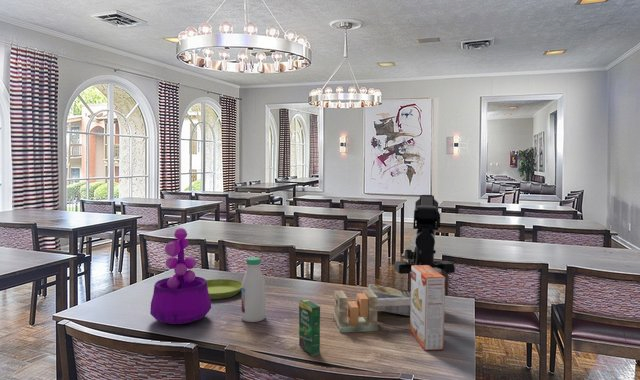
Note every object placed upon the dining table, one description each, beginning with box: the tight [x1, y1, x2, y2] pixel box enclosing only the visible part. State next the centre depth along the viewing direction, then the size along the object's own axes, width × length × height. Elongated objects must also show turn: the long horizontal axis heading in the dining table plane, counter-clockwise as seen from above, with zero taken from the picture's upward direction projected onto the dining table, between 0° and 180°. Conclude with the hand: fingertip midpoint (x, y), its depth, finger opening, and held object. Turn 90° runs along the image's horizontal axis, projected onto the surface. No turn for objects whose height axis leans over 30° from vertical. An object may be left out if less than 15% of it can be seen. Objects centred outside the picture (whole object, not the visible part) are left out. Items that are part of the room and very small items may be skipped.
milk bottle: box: [241, 256, 266, 323], centre depth 147 cm, size 8×8×20 cm
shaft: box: [377, 297, 411, 306], centre depth 145 cm, size 20×3×10 cm, turn 99°
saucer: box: [205, 278, 242, 300], centre depth 175 cm, size 21×21×3 cm
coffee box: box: [367, 283, 411, 317], centre depth 155 cm, size 9×6×16 cm
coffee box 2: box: [298, 299, 321, 357], centre depth 124 cm, size 8×3×13 cm, turn 28°
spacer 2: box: [355, 292, 369, 317], centre depth 144 cm, size 2×6×6 cm, turn 8°
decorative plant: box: [149, 227, 212, 325], centre depth 144 cm, size 19×19×30 cm
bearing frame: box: [332, 289, 380, 334], centre depth 143 cm, size 12×12×10 cm
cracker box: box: [409, 265, 446, 351], centre depth 131 cm, size 14×6×21 cm, turn 5°
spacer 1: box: [347, 300, 359, 326], centre depth 143 cm, size 2×6×6 cm, turn 7°
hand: (423, 293), depth 146 cm, fingers closed on shaft, 3 cm apart
